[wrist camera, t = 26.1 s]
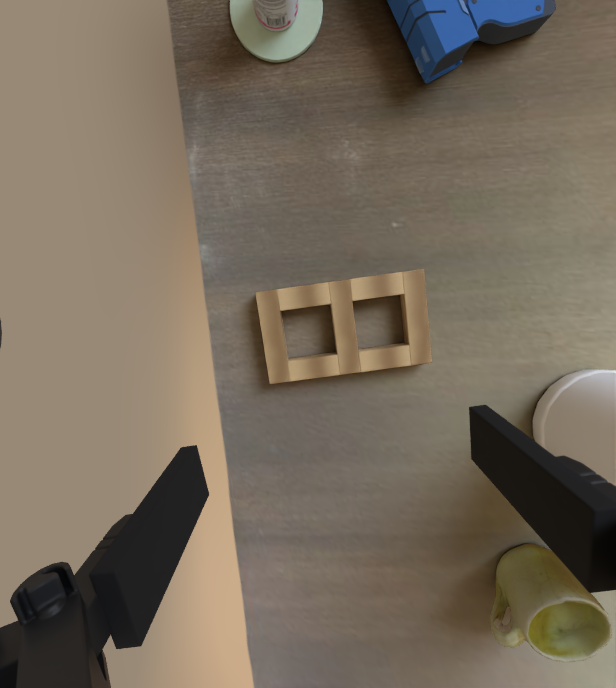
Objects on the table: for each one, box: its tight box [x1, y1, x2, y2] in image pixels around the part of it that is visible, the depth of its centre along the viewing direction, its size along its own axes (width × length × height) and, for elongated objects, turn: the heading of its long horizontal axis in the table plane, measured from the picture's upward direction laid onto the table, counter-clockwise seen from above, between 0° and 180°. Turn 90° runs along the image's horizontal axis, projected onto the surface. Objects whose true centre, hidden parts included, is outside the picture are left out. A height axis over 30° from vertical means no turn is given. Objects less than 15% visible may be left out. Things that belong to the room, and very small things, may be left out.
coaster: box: [230, 0, 323, 62], centre depth 34 cm, size 10×10×1 cm
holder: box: [255, 269, 432, 384], centre depth 38 cm, size 20×11×2 cm, turn 98°
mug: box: [490, 544, 612, 662], centre depth 40 cm, size 12×10×10 cm
